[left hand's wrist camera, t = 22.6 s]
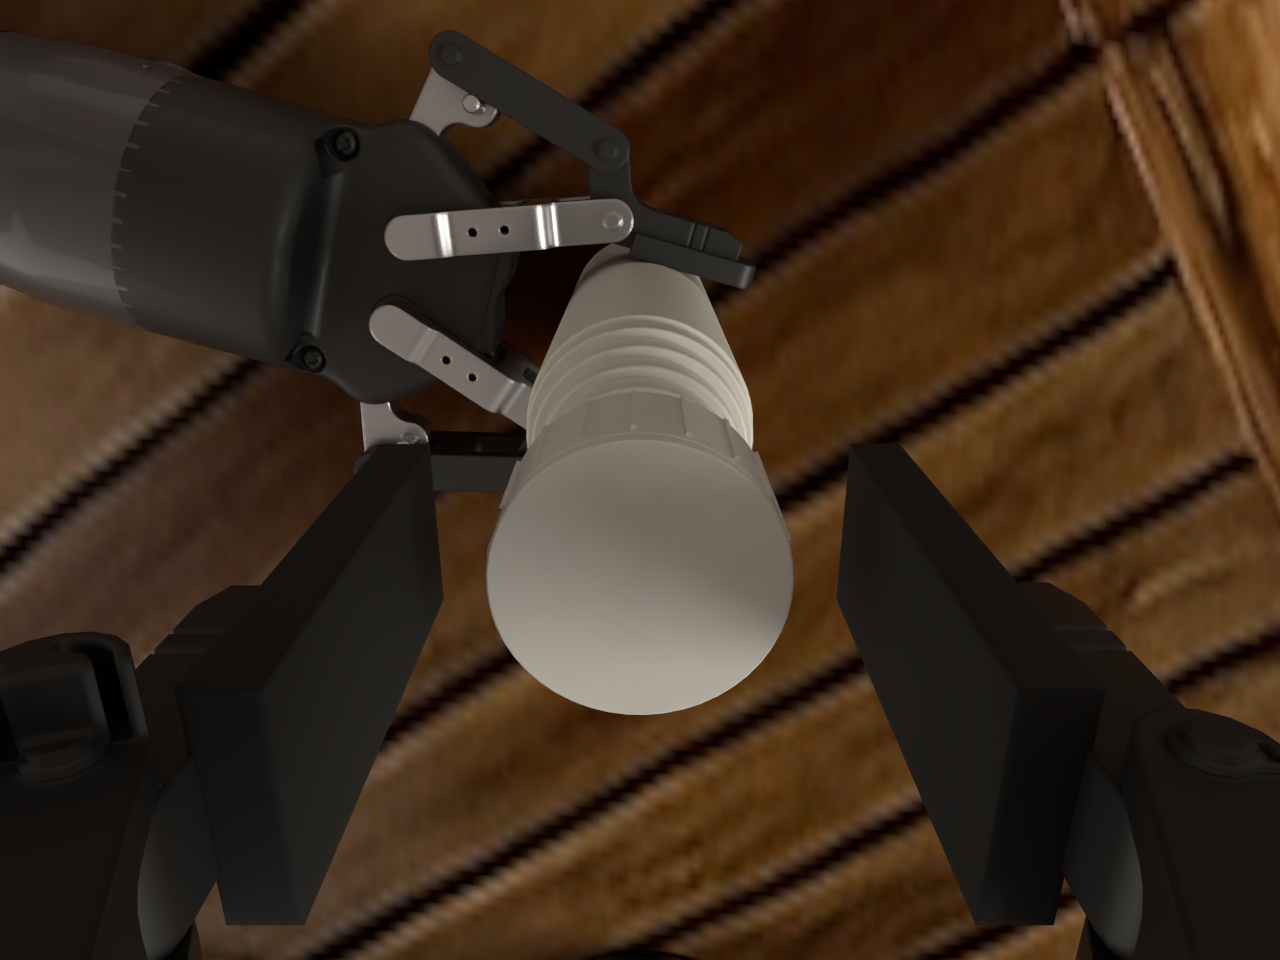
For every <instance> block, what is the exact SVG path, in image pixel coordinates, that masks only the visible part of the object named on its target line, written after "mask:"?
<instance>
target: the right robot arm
mask: <svg viewBox="0 0 1280 960" xmlns="http://www.w3.org/2000/svg"><path fill="white" fill-rule="evenodd" d="M429 60H430V63H431V66H432V69H431V71H430V73H429V76H428V78H427V80H426V82H425V85H424V87H423V89H422V91H421V94H420V96H419V98H418V100H417V103H416V105H415V107H414V109H413V112H412V114H411V116H410V118H409V120H407V119H400V120H394V121H391V122H387V123H384V124H378V125H369V124H365V123H361V122H357V121H353V120H350V119H347V118H343V117H340V116H336V115H333V114H330V113H326V112H323V111H319V110H316V109H312V108H309V107H306V106H302V105H299V104H295V103H292V102H288V101H285V100H282V99H278V98H275V97H271V96H268V95H264V94H261V93H258V92H254V91H251V90H247V89H244V88H240V87H237V86H234V85H231V84H227V83H224V82H220V81H217V80H213V79H210V78H206V77H203V76H200V75H196V74H194V73H193V72H191V71H189V70H187V69H185V68H183V67H181V66H178V65H176V64H173V63H170V62H166V61H162V60H157V61H155V60H151V61H149V60H145V59H142V58H139V57H135V56H132V55H129V54H125V53H122V52H118V51H114V50H110V49H106V48H102V47H98V46H92V45H87V44H81V43H74V42H66V41H59V40H53V39H47V38H41V37H37V36H33V35H28V34H24V33H19V32H17V31H14V30H11V29H7V28H4V27H0V284H2V285H5V286H8V287H10V288H13V289H15V290H18V291H20V292H22V293H25V294H27V295H29V296H32V297H34V298H37V299H39V300H42V301H45V302H47V303H50V304H53V305H55V306H58V307H61V308H64V309H68V310H71V311H74V312H77V313H81V314H85V315H89V316H93V317H97V318H100V319H104V320H108V321H112V322H115V323H119V324H123V325H127V326H130V327H134V328H138V329H142V330H146V331H149V332H153V333H157V334H161V335H165V336H168V337H172V338H176V339H180V340H183V341H187V342H191V343H195V344H199V345H202V346H206V347H210V348H214V349H217V350H221V351H225V352H229V353H232V354H236V355H240V356H244V357H248V358H251V359H255V360H259V361H263V362H266V363H270V364H274V365H278V366H282V367H285V368H289V369H294V370H298V371H303V372H308V373H313V374H317V375H320V376H322V377H324V378H326V379H328V380H330V381H331V382H333V383H334V384H336V385H337V386H338V387H340V388H341V389H342V390H343V391H344V392H345V393H346V394H348V395H349V396H350V397H352V398H353V399H355V400H357V401H359V402H360V404H361V415H362V426H363V438H364V452H363V454H362V455H361V456H360V457H359V458H358V459H357V461H356V462H355V465H354V474H356V473H357V471H358V470H359V469H360V468H361V467H362V466H363V464H364V463H365V462H366V461H367V460H368V458H369V457H370V456H371V455H372V454H373V453H374V451H375V450H376V449H377V448H378V447H379V446H380V444H430V454H431V465H432V476H433V487H434V491H463V492H500V493H505V490H506V487H507V485H508V482H509V480H510V477H511V474H512V472H513V469H514V466H515V464H516V462H517V460H518V461H520V462H521V460H522V459H523V457H524V455H525V454H526V452H527V439H526V433H493V432H457V431H434V428H433V426H432V424H431V422H430V421H429V420H428V419H427V418H425V417H423V416H421V415H417V414H412V413H409V412H407V411H406V410H404V409H403V408H402V407H401V405H400V404H399V402H398V400H397V399H399V398H402V397H404V396H407V395H410V394H412V393H415V392H418V391H420V390H423V389H426V388H429V387H431V386H434V385H437V384H439V383H442V382H445V383H446V384H448V385H449V386H451V387H452V388H454V389H456V390H457V391H459V392H460V393H462V394H463V395H465V396H466V397H468V398H469V399H471V400H472V401H474V402H475V403H477V404H478V405H480V406H481V407H483V408H485V409H486V410H488V411H490V412H492V413H496V414H502V415H505V416H506V417H508V418H509V419H511V420H512V421H514V422H516V423H517V424H519V425H520V426H522V427H523V428H525V429H526V430H527V426H526V424H527V409H528V403H529V398H530V394H531V391H532V388H533V385H534V382H535V380H536V378H537V375H538V373H539V371H540V369H539V368H538V367H536V366H535V365H534V364H533V363H532V362H531V361H530V359H529V358H528V357H527V356H526V355H525V354H524V353H522V352H521V351H520V350H518V349H517V348H515V347H514V346H512V345H511V344H509V343H508V342H506V341H505V340H503V339H502V338H501V336H502V332H503V327H504V323H505V318H506V314H505V290H506V288H507V286H508V285H509V283H510V281H511V279H512V277H513V275H514V273H515V271H516V270H517V266H518V261H519V257H520V252H521V251H532V250H543V249H549V248H553V247H561V246H574V245H588V244H602V243H613V244H616V245H620V246H623V247H627V248H630V253H629V257H632V258H636V259H639V260H643V261H646V262H650V263H653V264H658V265H662V266H665V267H668V268H671V269H674V270H678V271H681V272H685V273H688V274H692V275H695V276H699V277H702V278H706V279H709V280H713V281H716V282H720V283H723V284H727V285H730V286H734V287H737V288H741V289H747V290H749V289H750V286H751V283H752V280H753V276H754V273H755V270H756V267H757V266H756V265H755V264H754V263H753V262H752V261H751V260H749V259H746V258H743V257H740V256H739V255H740V251H741V248H742V245H743V244H742V243H741V242H740V241H739V240H738V239H737V238H736V237H734V236H733V235H732V234H731V233H730V232H728V231H727V230H726V229H725V228H722V227H719V226H715V225H712V224H708V223H705V222H701V221H698V220H694V219H691V218H688V217H684V216H681V215H678V214H674V213H671V212H667V211H664V210H660V209H657V208H654V207H650V206H648V205H646V204H644V203H643V202H641V201H640V200H639V199H638V197H637V196H636V194H635V193H634V190H633V187H632V181H631V168H630V144H629V141H628V138H627V137H626V135H625V134H624V133H623V132H621V131H620V130H618V129H617V128H615V127H614V126H612V125H610V124H609V123H607V122H605V121H604V120H602V119H600V118H599V117H597V116H596V115H594V114H592V113H591V112H589V111H587V110H586V109H584V108H582V107H581V106H579V105H578V104H576V103H574V102H573V101H571V100H569V99H568V98H566V97H564V96H563V95H561V94H560V93H558V92H556V91H555V90H553V89H551V88H550V87H548V86H547V85H545V84H543V83H542V82H540V81H538V80H537V79H535V78H533V77H532V76H530V75H529V74H527V73H525V72H524V71H522V70H520V69H519V68H517V67H515V66H514V65H512V64H511V63H509V62H507V61H506V60H504V59H502V58H501V57H499V56H497V55H496V54H494V53H493V52H491V51H489V50H488V49H486V48H484V47H483V46H481V45H479V44H478V43H476V42H474V41H473V40H471V39H469V38H468V37H466V36H464V35H463V34H461V33H459V32H457V31H453V30H446V31H442V32H440V33H439V34H437V35H436V36H435V37H434V38H433V40H432V41H431V44H430V47H429ZM501 113H503V114H504V115H506V116H508V117H509V118H511V119H513V120H514V121H516V122H518V123H519V124H521V125H523V126H524V127H526V128H528V129H529V130H531V131H533V132H534V133H536V134H538V135H539V136H541V137H543V138H544V139H546V140H548V141H549V142H551V143H553V144H554V145H556V146H558V147H559V148H561V149H563V150H564V151H566V152H568V153H569V154H571V155H573V156H575V157H576V158H578V159H580V160H581V161H583V162H585V163H586V164H587V170H588V181H589V191H590V196H576V197H563V198H538V199H524V200H511V201H498V200H497V199H496V198H495V197H494V195H493V194H492V193H491V192H490V190H489V189H488V188H487V187H486V186H485V184H484V183H483V182H482V181H481V179H480V178H479V177H478V176H477V174H476V173H475V172H474V171H473V170H472V168H471V167H470V166H469V165H468V163H467V162H466V161H465V160H464V158H463V157H462V156H461V155H460V153H459V152H458V151H457V150H456V149H455V147H454V146H453V145H452V144H451V142H450V141H449V140H448V139H447V137H446V136H445V135H446V133H447V132H448V131H449V129H450V128H452V127H453V126H455V125H457V124H462V123H463V124H466V125H468V126H471V127H476V128H486V127H490V126H492V125H493V124H494V123H496V122H497V120H498V119H499V117H500V115H501ZM490 354H492V355H491V356H490ZM471 374H475V375H476V377H473V376H472V375H471ZM526 432H527V431H526Z"/></svg>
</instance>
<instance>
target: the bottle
mask: <svg viewBox="0 0 1280 960" xmlns="http://www.w3.org/2000/svg"><path fill="white" fill-rule="evenodd" d="M629 253H630V248H627V247H623V246H620V245H616V244H613V243H612V244H610V245H608V246H606V247H605V248H603V249H602V250H600V251H599V252H598V253H597V254H596V255H594V256H593V258H592V259H591V260H590V261H589V262H588V264H587V265H586V267H585V268H584V270H583V272H582V274H581V276H580V278H579V280H578V283H577V285H576V287H575V290H574V292H573V294H572V297H571V299H570V301H569V304H568V306H567V308H566V311H565V313H564V315H563V318H562V320H561V322H560V324H559V327H558V329H557V331H556V334H555V336H554V338H553V341H552V343H551V345H550V348H549V350H548V352H547V355H546V357H545V359H544V362H543V364H542V366H541V368H540V371H539V373H538V375H537V378H536V380H535V382H534V385H533V388H532V391H531V394H530V398H529V403H528V409H527V424H526V426H527V432H526V439H527V450H528V449H529V447H530V446H531V445H532V443H533V442H534V441H535V440H536V438H537V437H538V436H539V435H540V434H541V431H542V428H543V427H544V426H545V425H546V424H547V425H548V426H549V425H550V424H551V423H552V422H554V421H555V420H557V419H558V418H559V417H561V416H562V415H564V414H565V413H566V412H568V411H570V410H572V409H574V408H576V407H578V406H580V405H581V404H583V401H585V400H588V401H592V400H595V399H597V398H601V397H605V396H609V395H614V394H620V393H630V392H631V390H637V392H653V393H659V394H666V395H671V396H675V397H678V398H680V397H681V396H683V397H686V400H688V401H691V402H693V403H695V404H698V405H700V406H702V407H704V408H706V409H708V410H709V411H711V412H713V413H714V414H716V415H718V416H719V417H721V418H722V419H724V418H726V419H728V420H729V423H730V425H731V426H732V427H733V428H734V429H735V430H736V431H737V432H738V433H739V434H740V435H741V436H742V438H743V439H744V440H745V441H746V442H747V444H748V445H749V447H750V448H751V449H752V445H753V413H752V406H751V400H750V397H749V393H748V389H747V387H746V384H745V382H744V380H743V377H742V375H741V373H740V370H739V368H738V366H737V363H736V361H735V359H734V356H733V354H732V352H731V350H730V347H729V345H728V343H727V340H726V338H725V336H724V333H723V331H722V329H721V326H720V324H719V322H718V319H717V317H716V315H715V313H714V310H713V308H712V306H711V303H710V301H709V299H708V296H707V294H706V292H705V289H704V287H703V285H702V282H701V280H700V278H699V276H695V275H692V274H688V273H685V272H681V271H678V270H674V269H671V268H668V267H665V266H662V265H658V264H653V263H650V262H646V261H643V260H639V259H636V258H632V257H629Z"/></svg>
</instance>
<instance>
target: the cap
mask: <svg viewBox="0 0 1280 960" xmlns="http://www.w3.org/2000/svg"><path fill="white" fill-rule="evenodd" d="M499 508H500V509H502V510H501V513H500V516H499V519H498V521H497V524H496V527H495V529H494V532H493V535H492V537H491V540H490V543H489V545H488V548H487V552H486V555H487V563H486V572H485V574H486V592H487V598H488V603H489V608H490V611H491V614H492V617H493V620H494V623H495V626H496V628H497V630H498V632H499V634H500V635H501V637H502V639H503V641H504V643H505V644H506V646H507V647H508V649H509V650H510V652H511V653H512V655H513V656H514V657H515V658H516V659H517V661H518V662H519V663H520V664H521V665H522V666H523V667H524V668H525V669H526V671H528V672H529V673H530V674H531V675H532V676H533V677H535V678H536V679H537V680H538V681H539V682H541V683H542V684H544V685H545V686H547V687H548V688H550V689H551V690H553V691H554V692H556V693H558V694H560V695H561V696H563V697H565V698H567V699H569V700H571V701H574V702H576V703H579V704H582V705H585V706H587V707H590V708H594V709H598V710H602V711H606V712H612V713H620V714H632V715H649V714H660V713H667V712H672V711H677V710H682V709H686V708H689V707H692V706H695V705H698V704H701V703H703V702H706V701H708V700H710V699H712V698H714V697H717V696H719V695H720V694H722V693H724V692H725V691H727V690H729V689H730V688H732V687H734V686H735V685H736V684H737V683H739V682H740V681H741V680H743V679H744V678H745V677H746V676H748V675H749V674H750V673H751V672H752V671H753V670H754V669H755V668H756V667H757V666H758V665H759V664H760V663H761V662H762V660H763V659H764V658H765V656H766V655H767V654H768V652H769V651H770V650H771V649H772V647H773V645H774V644H775V642H776V640H777V638H778V637H779V635H780V633H781V631H782V629H783V626H784V624H785V621H786V619H787V617H788V613H789V609H790V605H791V601H792V597H793V587H794V565H793V557H792V552H791V547H790V545H791V544H792V540H791V537H790V534H789V532H788V529H787V526H786V524H785V521H784V519H783V516H782V513H781V511H780V508H779V505H778V503H777V500H776V497H775V495H774V493H773V490H772V487H771V485H770V482H769V479H768V477H767V474H766V471H765V469H764V466H763V464H762V461H761V458H760V456H759V454H758V452H755V453H754V452H753V451H752V449H751V448H750V447H749V445H748V444H747V442H746V441H745V440H744V439H743V438H742V436H741V435H740V434H739V433H738V432H737V431H736V430H735V429H734V428H733V427H732V426H731V425H730V423H729V420H728V419H726V418H724V419H722V418H721V417H719V416H718V415H716V414H714V413H713V412H711V411H709V410H708V409H706V408H704V407H702V406H700V405H698V404H695V403H693V402H691V401H688V400H686V397H683V396H681V397H680V398H678V397H675V396H671V395H666V394H659V393H653V392H637V390H631V392H630V393H620V394H614V395H609V396H605V397H601V398H597V399H595V400H592V401H588V400H585V401H583V404H581V405H580V406H578V407H576V408H574V409H572V410H570V411H568V412H566V413H565V414H564V415H562V416H561V417H559V418H558V419H557V420H555V421H554V422H552V423H551V424H550V425H549V426H548V425H547V424H546V425H545V426H544V427H543V428H542V431H541V434H540V435H539V436H538V437H537V438H536V440H535V441H534V442H533V443H532V445H531V446H530V447H529V449H528V450H527V452H526V454H525V455H524V457H523V459H522V460H521V462H520V461H518V460H517V462H516V464H515V466H514V469H513V472H512V474H511V477H510V480H509V482H508V485H507V487H506V490H505V493H504V495H503V498H502V500H501V503H500V506H499Z"/></svg>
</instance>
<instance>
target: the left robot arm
mask: <svg viewBox="0 0 1280 960" xmlns="http://www.w3.org/2000/svg"><path fill="white" fill-rule="evenodd" d="M443 599H444V598H443V587H442V576H441V565H440V554H439V543H438V532H437V520H436V509H435V498H434V487H433V476H432V465H431V454H430V444H380V446H379V447H378V448H377V449H376V450H375V451H374V453H373V454H372V455H371V456H370V457H369V458H368V460H367V461H366V462H365V463H364V464H363V466H362V467H361V468H360V469H359V470H358V471H357V473H356V474H355V475H354V476H353V477H352V478H351V480H350V481H349V482H348V483H347V484H346V486H345V487H344V488H343V489H342V490H341V491H340V493H339V494H338V495H337V496H336V497H335V498H334V500H333V501H332V502H331V503H330V504H329V505H328V507H327V508H326V509H325V510H324V511H323V513H322V514H321V515H320V516H319V517H318V518H317V520H316V521H315V522H314V523H313V524H312V525H311V527H310V528H309V529H308V530H307V531H306V533H305V534H304V535H303V536H302V537H301V538H300V540H299V541H298V542H297V543H296V544H295V545H294V547H293V548H292V549H291V550H290V551H289V553H288V554H287V555H286V556H285V557H284V558H283V560H282V561H281V562H280V563H279V564H278V565H277V567H276V568H275V569H274V570H273V571H272V572H271V574H270V575H269V576H268V577H267V578H266V580H265V581H264V582H263V583H262V584H261V585H260V586H230V587H228V588H227V589H225V590H223V591H221V592H220V593H218V594H216V595H214V596H213V597H211V598H209V599H207V600H205V601H204V602H202V603H200V604H198V605H197V606H195V607H194V609H193V610H192V611H191V612H190V613H189V614H188V615H187V616H186V617H185V618H184V619H183V620H182V621H181V622H180V623H179V624H178V625H177V626H176V627H175V628H174V632H173V634H169V635H168V636H167V637H166V638H165V639H164V640H163V641H162V642H161V643H160V644H159V645H158V646H157V647H156V648H155V653H154V654H150V655H149V656H148V657H147V658H146V659H145V660H144V661H143V662H142V663H141V664H140V665H139V666H138V667H137V668H136V669H135V667H134V663H133V659H132V655H131V650H130V646H129V644H128V643H126V642H125V641H123V640H122V639H120V638H119V637H117V636H116V635H110V634H104V633H98V632H79V633H64V634H58V635H53V636H49V637H44V638H40V639H36V640H31V641H27V642H24V643H22V644H19V645H16V646H14V647H11V648H8V649H6V650H3V651H1V652H0V960H202V953H201V946H200V940H199V935H198V931H197V926H196V922H195V917H196V915H197V914H198V912H199V910H200V908H201V907H202V905H203V903H204V901H205V900H206V898H207V896H208V894H209V893H210V891H211V889H212V887H213V886H214V884H215V882H216V880H217V885H218V889H219V894H220V898H221V903H222V907H223V912H224V916H225V921H226V925H304V924H305V922H306V920H307V917H308V915H309V913H310V910H311V908H312V906H313V903H314V901H315V899H316V896H317V894H318V892H319V889H320V887H321V884H322V882H323V880H324V877H325V875H326V873H327V870H328V868H329V866H330V863H331V861H332V859H333V856H334V854H335V852H336V849H337V847H338V845H339V842H340V840H341V838H342V835H343V833H344V831H345V828H346V826H347V824H348V821H349V819H350V817H351V814H352V812H353V810H354V807H355V805H356V803H357V800H358V798H359V796H360V793H361V791H362V789H363V786H364V784H365V782H366V779H367V777H368V775H369V772H370V770H371V768H372V765H373V763H374V760H375V758H376V756H377V753H378V751H379V749H380V746H381V744H382V742H383V739H384V737H385V735H386V732H387V730H388V728H389V725H390V723H391V721H392V718H393V716H394V714H395V711H396V709H397V707H398V704H399V702H400V700H401V697H402V695H403V693H404V690H405V688H406V686H407V683H408V681H409V679H410V676H411V674H412V672H413V669H414V667H415V665H416V662H417V660H418V658H419V655H420V653H421V651H422V648H423V646H424V644H425V641H426V639H427V636H428V634H429V632H430V629H431V627H432V625H433V622H434V620H435V618H436V615H437V613H438V611H439V608H440V606H441V604H442V601H443ZM836 599H837V601H838V604H839V606H840V608H841V611H842V613H843V615H844V618H845V620H846V622H847V625H848V627H849V629H850V632H851V634H852V636H853V639H854V641H855V644H856V646H857V648H858V651H859V653H860V655H861V658H862V660H863V662H864V665H865V667H866V669H867V672H868V674H869V676H870V679H871V681H872V683H873V686H874V688H875V690H876V693H877V695H878V697H879V700H880V702H881V704H882V707H883V709H884V711H885V714H886V716H887V718H888V721H889V723H890V725H891V728H892V730H893V732H894V735H895V737H896V739H897V742H898V744H899V746H900V749H901V751H902V753H903V756H904V758H905V760H906V763H907V765H908V768H909V770H910V772H911V775H912V777H913V779H914V782H915V784H916V786H917V789H918V791H919V793H920V796H921V798H922V800H923V803H924V805H925V807H926V810H927V812H928V814H929V817H930V819H931V821H932V824H933V826H934V828H935V831H936V833H937V835H938V838H939V840H940V842H941V845H942V847H943V849H944V852H945V854H946V856H947V859H948V861H949V863H950V866H951V868H952V870H953V873H954V875H955V877H956V880H957V882H958V884H959V887H960V889H961V892H962V894H963V896H964V899H965V901H966V903H967V906H968V908H969V910H970V913H971V915H972V917H973V920H974V922H975V924H976V925H1054V921H1055V916H1056V912H1057V907H1058V903H1059V898H1060V894H1061V889H1062V885H1063V880H1064V878H1065V879H1066V881H1067V883H1068V885H1069V886H1070V888H1071V890H1072V891H1073V893H1074V895H1075V897H1076V898H1077V900H1078V902H1079V904H1080V905H1081V907H1082V909H1083V911H1084V912H1085V914H1086V918H1085V922H1084V926H1083V931H1082V935H1081V939H1080V943H1079V947H1078V951H1077V956H1076V960H1280V744H1279V743H1278V742H1276V741H1275V740H1273V739H1272V738H1270V737H1269V736H1267V735H1266V734H1264V733H1263V732H1261V731H1259V730H1257V729H1254V728H1252V727H1250V726H1248V725H1245V724H1243V723H1241V722H1239V721H1236V720H1234V719H1232V718H1229V717H1225V716H1221V715H1217V714H1214V713H1210V712H1206V711H1202V710H1198V709H1186V708H1185V707H1184V706H1183V705H1182V704H1181V703H1180V702H1179V701H1178V700H1177V699H1176V698H1175V697H1174V695H1173V694H1172V693H1171V692H1170V691H1169V690H1168V689H1167V688H1166V687H1165V686H1164V685H1163V684H1162V683H1161V682H1160V681H1159V680H1158V679H1157V678H1156V677H1155V676H1154V675H1153V674H1152V673H1151V672H1150V670H1149V669H1148V668H1147V667H1146V666H1145V665H1144V664H1143V663H1142V662H1141V661H1140V660H1139V659H1138V658H1137V657H1136V656H1135V655H1134V654H1133V653H1132V652H1131V651H1126V645H1125V644H1124V643H1123V642H1122V641H1121V640H1120V639H1119V638H1118V637H1117V636H1116V635H1115V634H1114V633H1113V632H1112V631H1107V626H1106V625H1105V624H1104V623H1103V621H1102V620H1101V619H1100V618H1099V617H1098V616H1097V615H1096V614H1095V613H1094V612H1093V611H1092V610H1091V609H1090V608H1089V607H1088V606H1087V605H1086V604H1085V603H1084V602H1082V601H1081V600H1079V599H1077V598H1075V597H1073V596H1072V595H1070V594H1068V593H1066V592H1065V591H1063V590H1061V589H1059V588H1057V587H1056V586H1054V585H1052V584H1050V583H1017V582H1016V581H1015V580H1014V578H1013V577H1012V576H1011V575H1010V574H1009V572H1008V571H1007V570H1006V569H1005V568H1004V567H1003V565H1002V564H1001V563H1000V562H999V561H998V560H997V558H996V557H995V556H994V555H993V554H992V553H991V551H990V550H989V549H988V548H987V547H986V545H985V544H984V543H983V542H982V541H981V540H980V538H979V537H978V536H977V535H976V534H975V533H974V531H973V530H972V529H971V528H970V527H969V525H968V524H967V523H966V522H965V521H964V520H963V518H962V517H961V516H960V515H959V514H958V513H957V511H956V510H955V509H954V508H953V507H952V505H951V504H950V503H949V502H948V501H947V500H946V498H945V497H944V496H943V495H942V494H941V493H940V491H939V490H938V489H937V488H936V487H935V486H934V484H933V483H932V482H931V481H930V480H929V478H928V477H927V476H926V475H925V474H924V473H923V471H922V470H921V469H920V468H919V467H918V466H917V464H916V463H915V462H914V461H913V460H912V458H911V457H910V456H909V455H908V454H907V453H906V451H905V450H904V449H903V448H902V447H901V446H900V444H850V454H849V465H848V476H847V487H846V498H845V509H844V520H843V532H842V543H841V554H840V565H839V576H838V587H837V598H836ZM594 960H684V959H680V958H675V957H668V956H661V955H648V954H630V955H617V956H610V957H603V958H599V959H594Z"/></svg>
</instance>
